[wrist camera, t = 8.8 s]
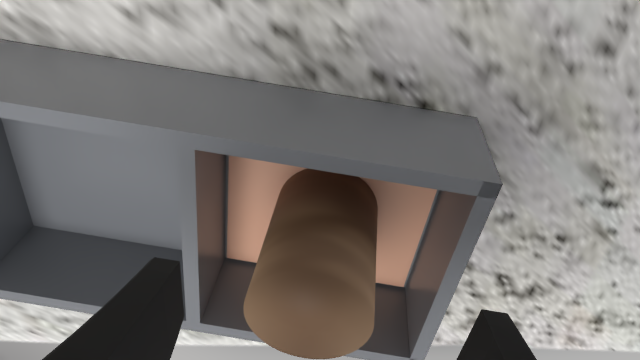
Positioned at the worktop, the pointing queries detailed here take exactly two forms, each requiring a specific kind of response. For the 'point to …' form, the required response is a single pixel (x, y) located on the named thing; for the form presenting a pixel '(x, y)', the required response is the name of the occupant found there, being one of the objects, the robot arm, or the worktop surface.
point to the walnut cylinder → (317, 268)
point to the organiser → (221, 187)
